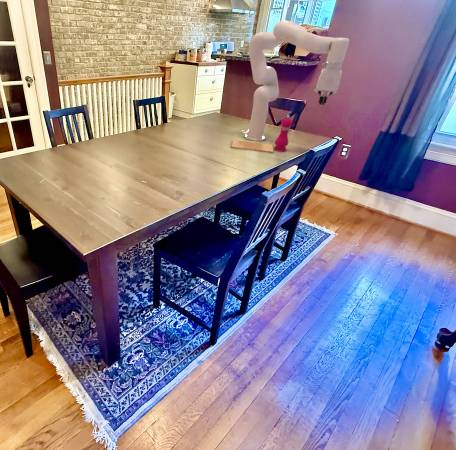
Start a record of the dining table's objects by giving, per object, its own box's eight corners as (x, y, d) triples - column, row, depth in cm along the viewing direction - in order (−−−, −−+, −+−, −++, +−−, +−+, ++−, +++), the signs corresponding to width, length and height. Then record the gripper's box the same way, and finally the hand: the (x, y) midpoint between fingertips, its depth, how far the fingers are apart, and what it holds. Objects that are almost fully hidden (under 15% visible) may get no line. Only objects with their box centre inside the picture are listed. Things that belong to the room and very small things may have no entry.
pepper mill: (286, 149, 183) (295, 114, 173) (285, 152, 178) (294, 117, 167) (274, 147, 186) (282, 113, 175) (272, 150, 180) (281, 115, 170)
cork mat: (231, 147, 182) (231, 146, 182) (233, 141, 194) (233, 140, 194) (273, 152, 177) (273, 151, 177) (272, 145, 189) (272, 144, 188)
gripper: (318, 65, 153) (307, 104, 163) (351, 67, 150) (338, 107, 159) (315, 64, 159) (305, 102, 169) (347, 66, 156) (335, 104, 166)
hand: (321, 104), depth 164 cm, fingers closed
